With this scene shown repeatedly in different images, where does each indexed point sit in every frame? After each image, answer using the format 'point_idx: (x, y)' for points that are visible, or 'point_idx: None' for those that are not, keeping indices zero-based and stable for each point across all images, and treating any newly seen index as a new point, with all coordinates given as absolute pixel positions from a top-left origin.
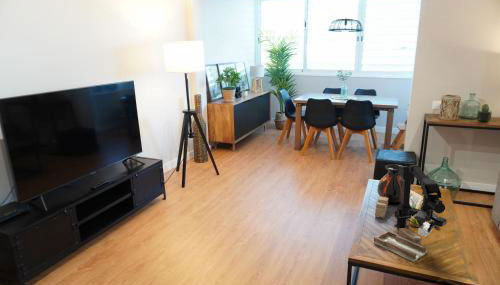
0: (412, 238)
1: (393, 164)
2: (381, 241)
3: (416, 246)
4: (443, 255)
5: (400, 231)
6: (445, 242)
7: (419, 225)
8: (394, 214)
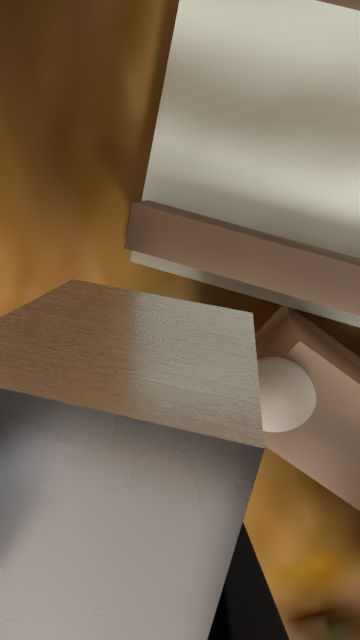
0: (326, 359)
1: None
2: None
3: (242, 231)
4: (15, 301)
5: None
6: None
7: (273, 622)
8: None
